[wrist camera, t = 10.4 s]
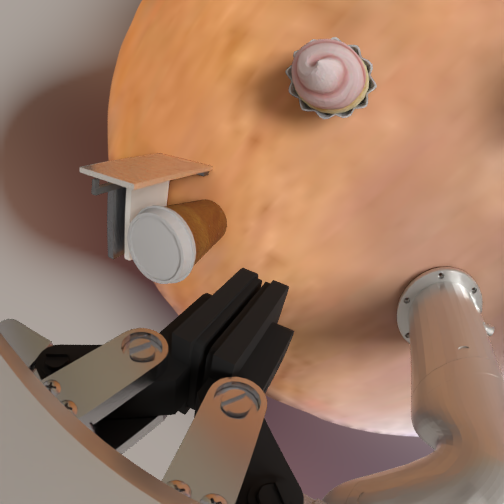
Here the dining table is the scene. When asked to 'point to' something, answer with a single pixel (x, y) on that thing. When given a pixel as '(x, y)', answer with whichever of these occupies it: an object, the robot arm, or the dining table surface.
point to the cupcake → (330, 78)
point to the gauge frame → (136, 185)
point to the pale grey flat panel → (135, 201)
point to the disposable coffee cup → (174, 238)
